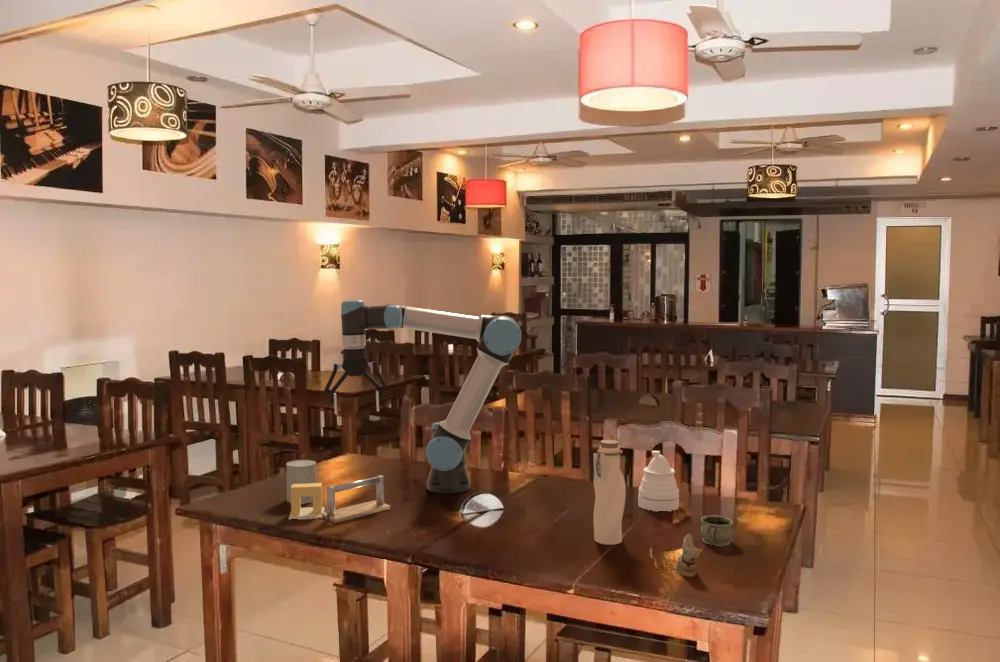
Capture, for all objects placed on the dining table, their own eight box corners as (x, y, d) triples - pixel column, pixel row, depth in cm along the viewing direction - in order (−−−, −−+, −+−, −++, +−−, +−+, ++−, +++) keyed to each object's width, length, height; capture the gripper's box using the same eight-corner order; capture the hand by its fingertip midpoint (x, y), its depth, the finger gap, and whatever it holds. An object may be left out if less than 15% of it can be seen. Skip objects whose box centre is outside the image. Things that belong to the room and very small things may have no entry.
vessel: (705, 533, 228) (706, 511, 228) (736, 538, 224) (737, 516, 223) (695, 545, 217) (695, 523, 217) (727, 551, 213) (728, 528, 213)
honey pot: (662, 514, 245) (663, 457, 244) (630, 505, 255) (630, 450, 254) (687, 506, 254) (688, 451, 253) (654, 497, 264) (655, 444, 262)
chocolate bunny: (672, 576, 196) (673, 536, 195) (677, 565, 203) (678, 527, 202) (695, 579, 194) (696, 539, 193) (699, 568, 201) (700, 529, 200)
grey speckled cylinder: (299, 505, 253) (298, 468, 252) (280, 500, 259) (280, 463, 258) (322, 499, 260) (322, 462, 259) (304, 494, 266) (303, 458, 265)
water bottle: (614, 549, 214) (616, 447, 212) (584, 543, 219) (586, 443, 217) (629, 538, 223) (631, 440, 221) (600, 532, 228) (601, 437, 226)
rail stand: (376, 503, 255) (375, 473, 255) (390, 509, 250) (390, 477, 249) (320, 517, 241) (320, 484, 241) (334, 523, 236) (334, 490, 235)
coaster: (324, 508, 250) (324, 506, 250) (322, 518, 240) (322, 516, 240) (292, 510, 248) (292, 508, 248) (288, 519, 238) (288, 517, 238)
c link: (291, 514, 241) (290, 487, 241) (292, 510, 245) (292, 484, 245) (321, 513, 243) (321, 486, 242) (322, 509, 247) (321, 482, 246)
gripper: (314, 350, 251) (317, 416, 253) (393, 347, 256) (396, 411, 258) (315, 348, 259) (318, 412, 260) (392, 345, 264) (394, 407, 265)
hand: (357, 412), depth 259 cm, fingers open, 13 cm apart
